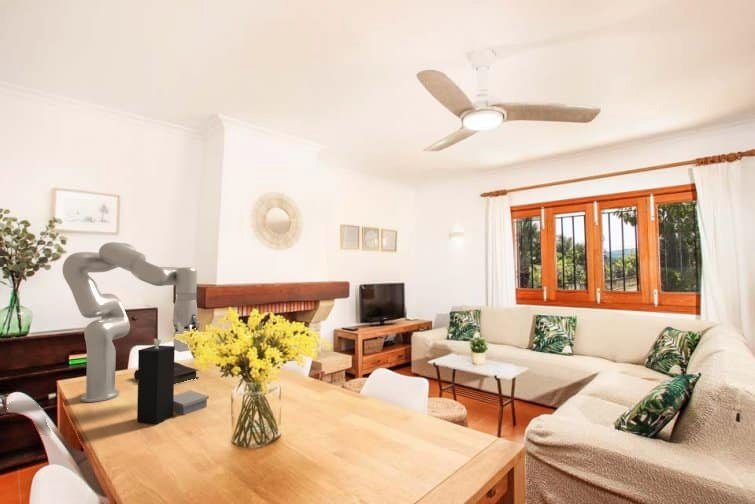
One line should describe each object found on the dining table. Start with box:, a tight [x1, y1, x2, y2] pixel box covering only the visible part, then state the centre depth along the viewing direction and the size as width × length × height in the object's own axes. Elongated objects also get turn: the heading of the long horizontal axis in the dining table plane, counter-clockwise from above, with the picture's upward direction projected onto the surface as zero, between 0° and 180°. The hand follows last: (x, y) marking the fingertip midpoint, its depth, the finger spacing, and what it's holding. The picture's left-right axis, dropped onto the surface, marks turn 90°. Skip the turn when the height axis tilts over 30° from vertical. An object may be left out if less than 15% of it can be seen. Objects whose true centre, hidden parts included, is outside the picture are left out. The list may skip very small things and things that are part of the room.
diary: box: [133, 361, 200, 385], centre depth 177 cm, size 19×25×5 cm
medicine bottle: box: [173, 322, 193, 353], centre depth 152 cm, size 7×7×12 cm
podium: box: [173, 390, 210, 416], centre depth 141 cm, size 12×10×4 cm
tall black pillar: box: [136, 338, 176, 426], centre depth 130 cm, size 8×8×28 cm
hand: (185, 340), depth 151 cm, fingers closed on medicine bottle, 8 cm apart
